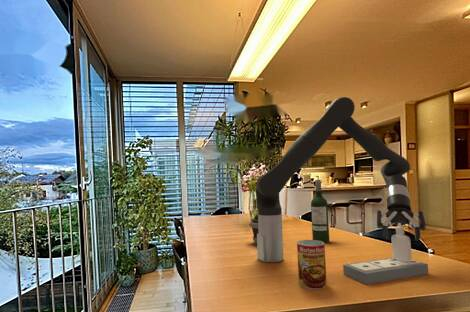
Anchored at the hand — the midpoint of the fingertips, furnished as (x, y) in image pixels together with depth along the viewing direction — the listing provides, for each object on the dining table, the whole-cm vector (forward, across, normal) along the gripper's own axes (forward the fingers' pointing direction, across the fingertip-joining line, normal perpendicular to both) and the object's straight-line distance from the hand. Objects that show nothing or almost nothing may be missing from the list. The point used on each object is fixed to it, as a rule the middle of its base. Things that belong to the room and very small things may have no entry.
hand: (401, 238), depth 97 cm
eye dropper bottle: (+4, 0, +6) cm, 8 cm away
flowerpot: (-12, -58, +27) cm, 65 cm away
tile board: (+10, -5, +5) cm, 13 cm away
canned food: (+23, -24, -8) cm, 34 cm away
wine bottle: (-20, -34, +36) cm, 53 cm away
